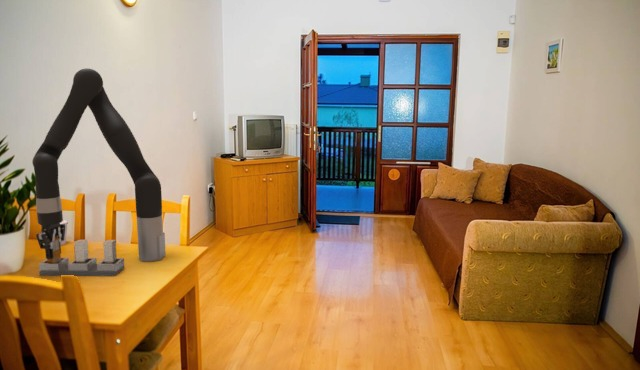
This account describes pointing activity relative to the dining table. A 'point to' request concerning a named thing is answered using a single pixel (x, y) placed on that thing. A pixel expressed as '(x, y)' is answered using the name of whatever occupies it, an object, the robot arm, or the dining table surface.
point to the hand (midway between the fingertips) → (53, 256)
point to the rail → (85, 262)
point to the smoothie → (65, 231)
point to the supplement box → (55, 252)
